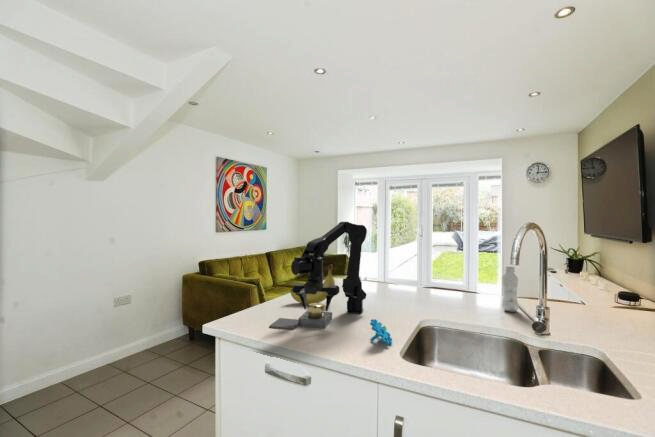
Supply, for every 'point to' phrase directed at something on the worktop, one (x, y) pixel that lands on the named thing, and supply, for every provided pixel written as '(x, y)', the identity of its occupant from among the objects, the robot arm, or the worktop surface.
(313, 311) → the end cover
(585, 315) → the worktop surface
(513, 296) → the plastic bottle
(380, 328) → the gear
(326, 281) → the banana
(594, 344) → the worktop surface
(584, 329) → the worktop surface
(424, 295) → the worktop surface
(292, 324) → the mat
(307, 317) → the housing
